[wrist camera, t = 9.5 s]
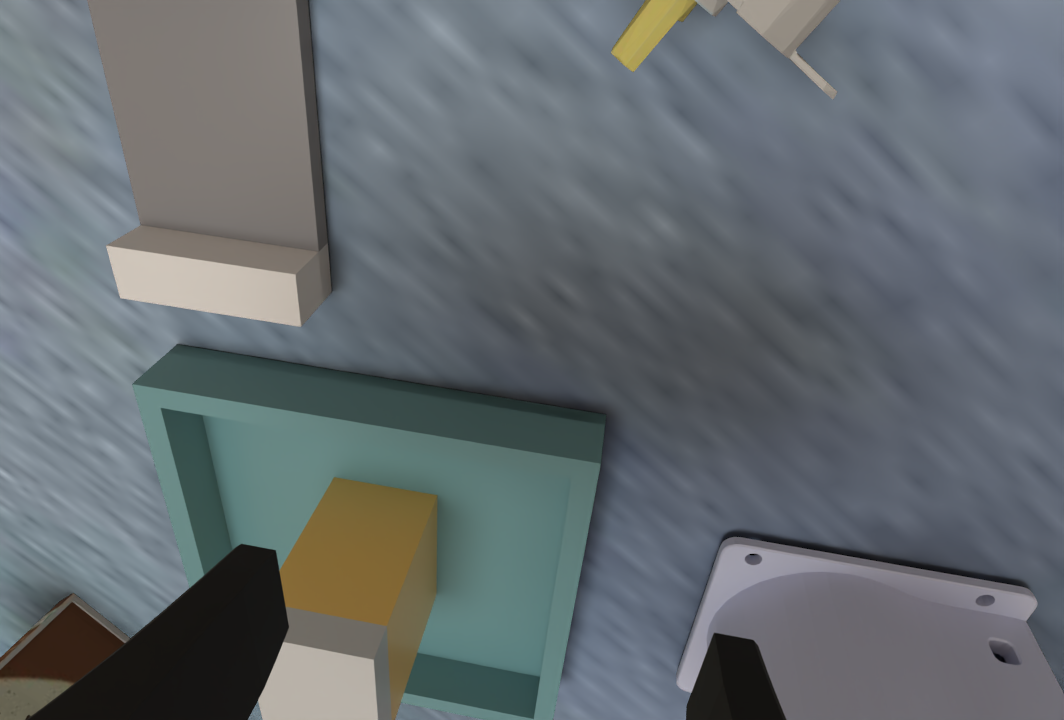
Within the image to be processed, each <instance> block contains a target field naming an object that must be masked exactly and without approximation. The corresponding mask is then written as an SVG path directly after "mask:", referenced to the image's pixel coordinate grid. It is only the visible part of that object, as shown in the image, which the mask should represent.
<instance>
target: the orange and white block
mask: <svg viewBox="0 0 1064 720" xmlns="http://www.w3.org/2000/svg"><path fill="white" fill-rule="evenodd" d="M280 577H281V582H282V588H283V594H284V600H285V606H286V612H287V618H288V623H289V629H288V632H287V634H286V637H285V639H284V642H283V644H282V647H281V649H280V652H279V654H278V657H277V659H276V662H275V664H274V666H273V669H272V671H271V674H270V676H269V678H268V681H267V683H266V685H265V688H264V690H263V692H262V694H261V695H260V697H259V699H258V702H259V706H260V710H261V714H262V718H263V720H395V718H396V715H397V712H398V709H399V706H400V703H401V700H402V697H403V694H404V691H405V688H406V685H407V682H408V679H409V676H410V673H411V670H412V667H413V664H414V661H415V658H416V655H417V652H418V649H419V646H420V643H421V640H422V637H423V634H424V631H425V628H426V625H427V622H428V619H429V616H430V613H431V610H432V607H433V604H434V601H435V598H436V586H437V495H434V494H428V493H422V492H416V491H411V490H405V489H399V488H393V487H388V486H382V485H376V484H370V483H365V482H359V481H353V480H348V479H342V478H336V477H334V478H333V480H332V482H331V483H330V485H329V487H328V488H327V490H326V492H325V494H324V495H323V497H322V499H321V500H320V502H319V504H318V506H317V507H316V509H315V511H314V512H313V514H312V516H311V518H310V519H309V521H308V523H307V524H306V526H305V528H304V529H303V531H302V533H301V535H300V536H299V538H298V540H297V541H296V543H295V545H294V547H293V548H292V550H291V552H290V553H289V555H288V557H287V559H286V560H285V562H284V564H283V565H282V567H281V569H280Z"/></svg>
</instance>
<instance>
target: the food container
mask: <svg viewBox="0 0 1064 720" xmlns="http://www.w3.org/2000/svg"><path fill="white" fill-rule="evenodd" d="M129 639H130V638H129V637H128V636H127V635H125V634H124V633H123V632H122V631H120V630H119V629H118V628H117V627H115V626H114V625H113V624H112V623H110V622H109V621H108V620H107V619H105V618H104V617H103V616H102V615H100V614H99V613H98V612H97V611H95V610H94V609H93V608H92V607H90V606H89V605H88V604H87V603H85V602H84V601H83V600H82V599H80V598H79V597H78V596H77V595H75V594H74V593H73V594H71V595H69V596H68V597H66V598H64V599H63V600H61V601H60V602H59V603H58V604H57V605H56V606H54V607H53V608H52V609H51V610H50V611H49V612H48V613H47V614H46V615H45V616H44V617H43V618H42V619H41V620H40V621H39V622H38V623H37V624H35V625H34V626H33V627H32V628H31V629H30V630H29V631H28V632H27V633H26V634H25V635H24V636H23V637H22V638H21V639H20V640H19V641H17V642H16V643H15V644H14V645H13V646H12V647H11V648H10V649H9V650H8V651H7V652H6V653H5V654H4V655H3V656H2V657H1V658H0V720H26V719H28V718H29V717H30V716H32V715H33V714H35V713H36V712H37V711H39V710H40V709H41V708H43V707H44V706H45V705H47V704H48V703H49V702H51V701H52V700H53V699H55V698H56V697H57V696H59V695H60V694H61V693H63V692H64V691H65V690H66V689H68V688H69V687H70V686H72V685H73V684H74V683H75V682H77V681H78V680H79V679H81V678H82V677H83V676H84V675H86V674H87V673H88V672H90V671H91V670H92V669H93V668H95V667H96V666H97V665H99V664H100V663H101V662H102V661H104V660H105V659H106V658H107V657H109V656H110V655H111V654H112V653H114V652H115V651H116V650H117V649H119V648H120V647H121V646H122V645H123V644H124V643H126V642H127V641H128V640H129Z"/></svg>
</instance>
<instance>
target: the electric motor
mask: <svg viewBox="0 0 1064 720" xmlns="http://www.w3.org/2000/svg"><path fill="white" fill-rule="evenodd" d="M839 1H840V0H646V1H645V2H644V3H643V5H642V6H641V8H640V9H639V11H638V12H637V14H636V15H635V16H634V18H633V19H632V21H631V22H630V24H629V25H628V27H627V28H626V29H625V31H624V32H623V34H622V35H621V37H620V38H619V39H618V41H617V42H616V44H615V45H614V47H613V49H612V51H611V53H612V54H613V55H614V56H615V57H616V58H617V59H618V60H619V61H620V62H621V63H622V64H623V65H624V66H626V67H627V68H628V69H630V70H631V71H632V72H634V71H635V70H636V68H637V67H638V66H639V65H640V64H641V62H642V61H643V60H644V59H645V58H646V57H647V55H648V54H649V53H650V52H651V51H652V49H653V48H654V47H655V46H656V45H657V44H658V42H659V41H660V40H661V39H662V38H663V37H664V35H665V34H666V33H667V32H668V31H669V29H670V28H671V27H672V26H673V25H674V24H675V22H676V21H677V20H678V21H681V22H683V21H684V19H685V18H686V17H687V16H688V14H689V13H690V12H691V11H692V9H693V8H694V7H695V6H696V4H697V3H698V4H699V5H700V6H702V7H703V8H704V9H705V10H706V11H707V12H709V13H710V14H711V15H712V16H715V17H716V16H717V15H718V13H719V12H720V11H721V10H722V9H723V8H724V7H725V5H726V4H727V3H729V4H731V5H732V6H734V7H735V8H736V9H737V12H736V13H737V14H739V15H740V16H741V17H742V18H743V19H744V20H745V21H746V22H747V23H748V24H749V25H751V26H752V27H753V28H754V29H755V30H756V31H757V32H758V33H759V34H760V35H761V36H763V37H764V38H765V39H766V40H767V41H768V42H769V43H771V44H772V45H773V46H774V47H775V48H776V49H777V50H779V51H780V52H781V53H782V54H783V55H784V56H786V57H787V58H789V59H790V60H791V61H792V62H793V63H794V64H795V65H797V66H798V67H799V68H800V69H801V70H802V71H803V72H804V73H805V74H806V75H807V76H808V77H809V78H810V79H811V80H812V81H813V82H814V83H815V84H816V85H817V86H819V87H820V88H821V89H822V90H823V91H824V92H825V93H826V94H827V95H828V96H830V97H831V98H832V99H834V97H835V96H836V94H837V91H836V90H835V89H834V88H833V87H832V86H831V85H830V84H829V83H827V82H826V81H825V80H824V79H823V78H822V77H821V76H820V75H819V74H818V73H817V72H816V71H815V70H814V69H813V68H812V67H811V66H810V65H809V64H808V63H807V62H806V61H805V60H804V59H803V58H802V57H801V56H800V55H799V54H798V53H797V51H796V49H797V47H798V46H799V45H800V44H801V43H802V42H803V41H804V40H805V39H806V38H807V37H808V35H809V34H810V33H811V32H812V31H813V30H814V29H815V28H816V27H817V26H818V24H819V23H820V22H821V21H822V20H823V19H824V18H825V17H826V16H827V15H828V14H829V12H830V11H831V10H832V9H833V8H834V7H835V6H836V5H837V4H838V3H839Z"/></svg>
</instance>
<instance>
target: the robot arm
mask: <svg viewBox="0 0 1064 720" xmlns="http://www.w3.org/2000/svg"><path fill="white" fill-rule="evenodd" d="M749 554H757V555H749ZM1036 607H1037V600H1036V598H1035V597H1034V595H1033V593H1032V592H1031V591H1030V590H1029V589H1027V588H1024V587H1021V586H1015V585H1009V584H1004V583H998V582H992V581H987V580H981V579H975V578H969V577H964V576H958V575H952V574H947V573H941V572H935V571H930V570H924V569H918V568H913V567H907V566H901V565H896V564H890V563H884V562H879V561H873V560H867V559H861V558H856V557H850V556H844V555H839V554H833V553H827V552H822V551H816V550H810V549H805V548H799V547H793V546H788V545H782V544H776V543H770V542H765V541H759V540H753V539H748V538H742V537H731V538H728V539H726V540H724V541H723V542H722V544H721V545H720V548H719V551H718V554H717V557H716V560H715V563H714V566H713V569H712V572H711V574H710V577H709V580H708V583H707V586H706V589H705V592H704V595H703V598H702V601H701V604H700V607H699V610H698V612H697V615H696V618H695V621H694V624H693V627H692V630H691V633H690V636H689V639H688V642H687V645H686V647H685V650H684V653H683V656H682V659H681V662H680V665H679V668H678V671H677V685H678V687H679V688H681V689H682V690H684V691H687V692H692V693H691V696H690V698H689V701H688V704H687V711H686V720H1064V693H1063V691H1062V689H1061V687H1060V685H1059V683H1058V681H1057V680H1056V678H1055V676H1054V674H1053V672H1052V670H1051V668H1050V666H1049V664H1048V662H1047V660H1046V658H1045V657H1044V655H1043V653H1042V651H1041V649H1040V647H1039V645H1038V643H1037V641H1036V639H1035V637H1034V635H1033V633H1032V632H1031V630H1030V628H1029V626H1028V624H1027V622H1026V621H1027V619H1028V618H1029V617H1030V616H1031V614H1032V613H1033V612H1034V610H1035V609H1036ZM288 629H289V623H288V618H287V612H286V606H285V600H284V594H283V588H282V582H281V577H280V571H279V565H278V559H277V553H276V550H273V549H267V548H262V547H257V546H251V545H246V544H240V545H238V546H237V547H235V548H234V549H233V550H232V551H231V552H230V553H229V554H227V555H226V556H225V557H224V558H223V559H222V560H221V561H220V562H218V563H217V564H216V565H215V566H214V567H213V568H212V569H211V570H209V571H208V572H207V573H206V574H205V575H204V576H203V577H202V578H200V579H199V580H198V581H197V582H196V583H195V584H194V585H192V586H191V587H190V588H189V589H188V590H187V591H186V592H185V593H183V594H182V595H181V596H180V597H179V598H178V599H176V600H175V601H174V602H173V603H172V604H171V605H170V606H168V607H167V608H166V609H165V610H164V611H163V612H162V613H160V614H159V615H158V616H157V617H156V618H154V619H153V620H152V621H151V622H150V623H148V624H147V625H146V626H145V627H144V628H142V629H141V630H140V631H139V632H138V633H136V634H135V635H134V636H133V637H132V638H130V639H129V640H128V641H127V642H126V643H124V644H123V645H122V646H121V647H120V648H119V649H117V650H116V651H115V652H114V653H112V654H111V655H110V656H109V657H107V658H106V659H105V660H104V661H102V662H101V663H100V664H99V665H97V666H96V667H95V668H93V669H92V670H91V671H90V672H88V673H87V674H86V675H84V676H83V677H82V678H81V679H79V680H78V681H77V682H75V683H74V684H73V685H72V686H70V687H69V688H68V689H66V690H65V691H64V692H63V693H61V694H60V695H59V696H57V697H56V698H55V699H53V700H52V701H51V702H49V703H48V704H47V705H45V706H44V707H43V708H41V709H40V710H39V711H37V712H36V713H35V714H33V715H32V716H30V717H29V718H28V719H26V720H248V718H249V716H250V714H251V712H252V710H253V709H254V707H255V705H256V703H257V701H258V699H259V697H260V695H261V694H262V692H263V690H264V688H265V685H266V683H267V681H268V678H269V676H270V674H271V671H272V669H273V666H274V664H275V662H276V659H277V657H278V654H279V652H280V649H281V647H282V644H283V642H284V639H285V637H286V634H287V632H288Z"/></svg>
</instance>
